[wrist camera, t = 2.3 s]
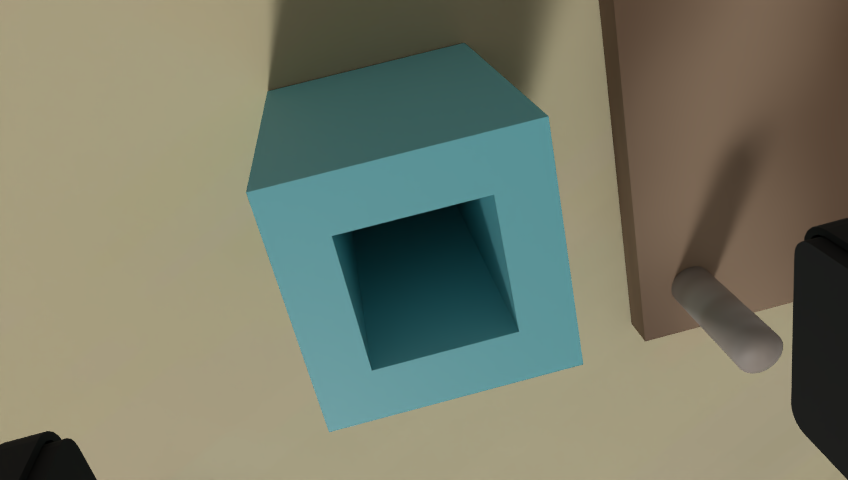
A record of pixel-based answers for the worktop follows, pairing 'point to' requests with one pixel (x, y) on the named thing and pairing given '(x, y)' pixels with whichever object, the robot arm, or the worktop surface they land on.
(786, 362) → the worktop surface
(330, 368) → the hollow square block
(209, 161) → the worktop surface
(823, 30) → the pegboard
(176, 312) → the worktop surface
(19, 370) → the worktop surface
